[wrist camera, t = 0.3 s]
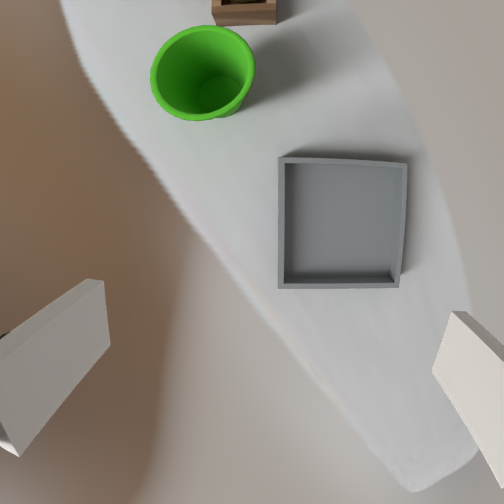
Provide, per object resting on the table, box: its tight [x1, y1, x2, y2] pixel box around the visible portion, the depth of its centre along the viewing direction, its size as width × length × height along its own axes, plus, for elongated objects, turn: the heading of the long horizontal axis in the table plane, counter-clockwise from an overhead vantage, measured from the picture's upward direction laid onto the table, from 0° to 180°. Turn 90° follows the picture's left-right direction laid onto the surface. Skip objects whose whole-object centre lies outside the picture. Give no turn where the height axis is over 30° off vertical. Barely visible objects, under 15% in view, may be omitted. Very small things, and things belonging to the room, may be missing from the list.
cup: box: [150, 25, 255, 121], centre depth 29 cm, size 9×9×11 cm
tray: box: [278, 157, 407, 289], centre depth 35 cm, size 14×14×3 cm
